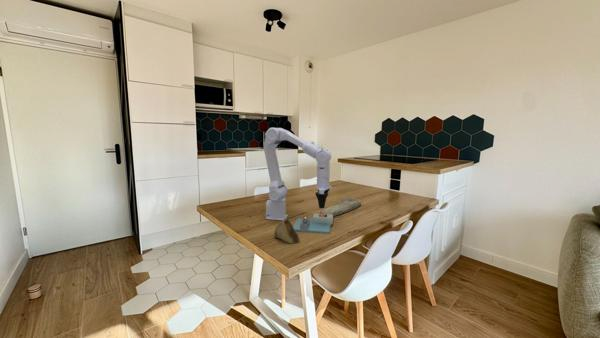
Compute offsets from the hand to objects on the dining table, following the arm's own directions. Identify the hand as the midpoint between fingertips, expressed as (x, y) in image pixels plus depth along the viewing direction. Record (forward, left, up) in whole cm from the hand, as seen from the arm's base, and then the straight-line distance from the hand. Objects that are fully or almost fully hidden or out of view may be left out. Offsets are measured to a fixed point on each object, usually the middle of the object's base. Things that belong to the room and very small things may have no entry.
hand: (322, 205), depth 117 cm
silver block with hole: (+1, 0, -8) cm, 8 cm away
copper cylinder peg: (0, 0, -9) cm, 9 cm away
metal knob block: (-7, -7, -9) cm, 13 cm away
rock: (-12, -20, -9) cm, 25 cm away
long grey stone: (+9, +22, -9) cm, 26 cm away
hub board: (-4, -5, -9) cm, 10 cm away
